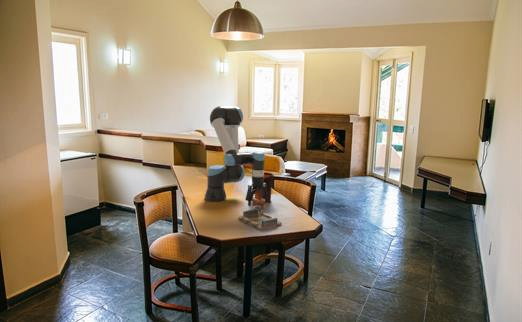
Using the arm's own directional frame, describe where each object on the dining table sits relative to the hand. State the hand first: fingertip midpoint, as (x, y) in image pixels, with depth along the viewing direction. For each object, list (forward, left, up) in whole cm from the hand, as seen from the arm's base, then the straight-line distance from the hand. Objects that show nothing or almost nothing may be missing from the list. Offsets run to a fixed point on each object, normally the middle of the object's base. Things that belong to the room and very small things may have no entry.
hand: (256, 209), depth 234 cm
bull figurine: (0, 0, 0) cm, 0 cm away
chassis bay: (+19, -12, 0) cm, 22 cm away
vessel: (-13, +15, 0) cm, 20 cm away
